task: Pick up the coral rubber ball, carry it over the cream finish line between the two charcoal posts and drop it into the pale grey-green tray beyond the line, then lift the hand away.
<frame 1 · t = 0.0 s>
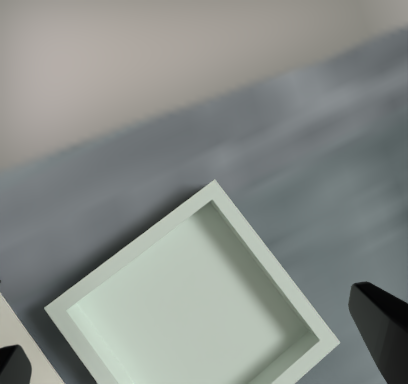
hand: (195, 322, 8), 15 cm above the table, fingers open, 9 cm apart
tray: (194, 314, 23), on the table
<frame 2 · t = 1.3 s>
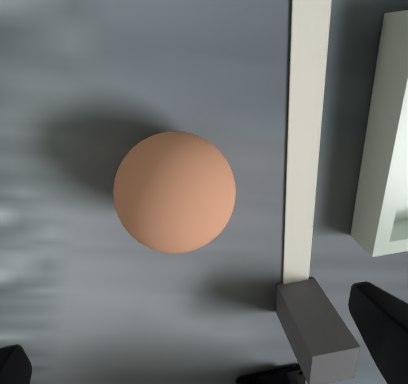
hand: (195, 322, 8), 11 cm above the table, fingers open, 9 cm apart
ball: (175, 192, 15), point 3 cm above the table
finish line: (302, 151, 19), on the table
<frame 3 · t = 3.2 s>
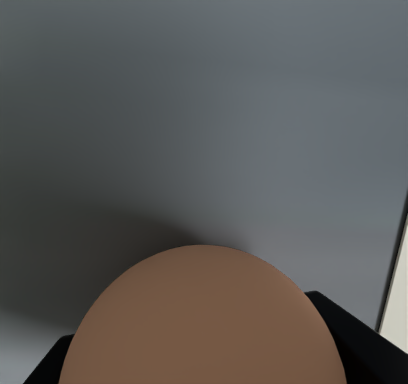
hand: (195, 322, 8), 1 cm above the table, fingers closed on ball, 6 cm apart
ball: (202, 379, 7), point 3 cm above the table, touching gripper
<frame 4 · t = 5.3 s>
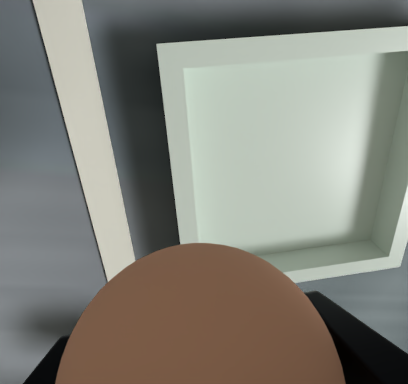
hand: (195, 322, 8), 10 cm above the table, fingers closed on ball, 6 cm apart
ball: (200, 378, 7), point 12 cm above the table, touching gripper
finish line: (101, 186, 17), on the table
tray: (288, 164, 18), on the table
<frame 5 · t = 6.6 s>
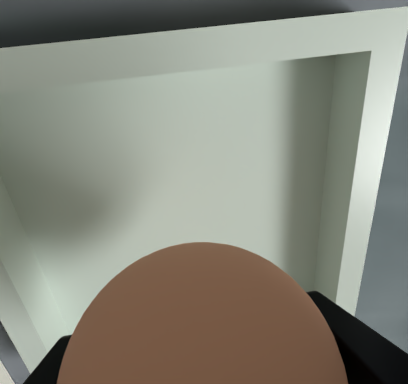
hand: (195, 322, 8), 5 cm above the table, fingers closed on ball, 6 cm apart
ball: (202, 377, 7), point 7 cm above the table, touching gripper
tray: (181, 217, 13), on the table
when the fingers open (4 cm above the table, at t = 7.7 s): ball drops 2 cm, resting on tray.
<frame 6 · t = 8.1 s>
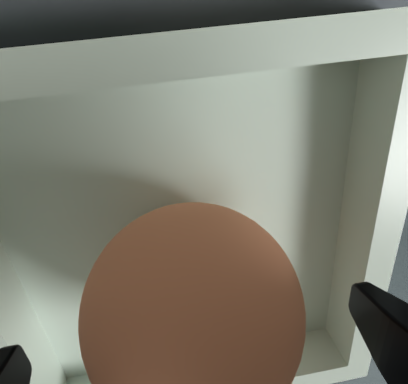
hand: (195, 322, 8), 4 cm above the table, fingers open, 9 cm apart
ball: (193, 308, 9), point 4 cm above the table, touching tray
tray: (183, 237, 12), on the table
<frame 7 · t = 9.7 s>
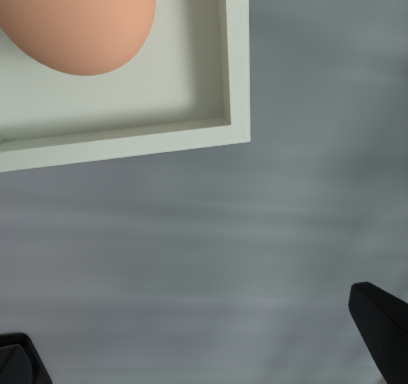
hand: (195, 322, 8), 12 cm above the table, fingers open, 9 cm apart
tray: (92, 3, 15), on the table
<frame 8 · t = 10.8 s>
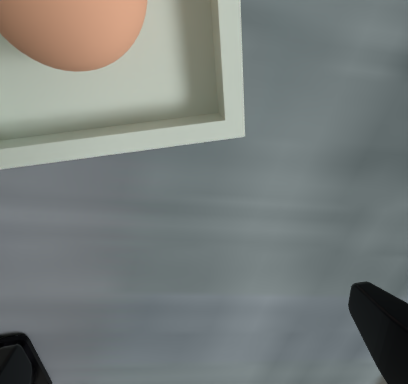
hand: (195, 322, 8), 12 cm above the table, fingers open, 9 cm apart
tray: (84, 0, 15), on the table
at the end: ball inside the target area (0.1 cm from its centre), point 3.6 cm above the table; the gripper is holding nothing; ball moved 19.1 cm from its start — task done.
